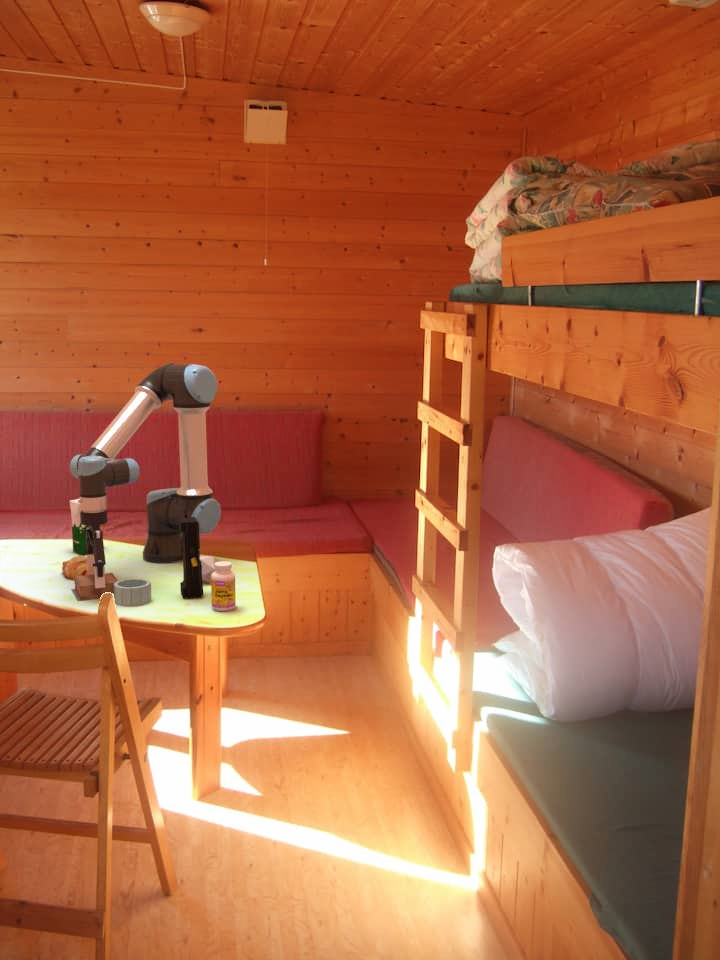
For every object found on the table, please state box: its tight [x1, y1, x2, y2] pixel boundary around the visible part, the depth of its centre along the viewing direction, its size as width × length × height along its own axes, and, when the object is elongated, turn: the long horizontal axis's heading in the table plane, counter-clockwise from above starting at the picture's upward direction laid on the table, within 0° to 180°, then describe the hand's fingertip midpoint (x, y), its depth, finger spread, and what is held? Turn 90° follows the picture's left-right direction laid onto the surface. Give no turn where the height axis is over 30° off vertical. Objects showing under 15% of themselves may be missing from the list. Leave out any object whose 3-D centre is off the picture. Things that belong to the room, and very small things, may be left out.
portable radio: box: [179, 509, 205, 599], centre depth 282 cm, size 8×6×25 cm
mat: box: [71, 588, 101, 602], centre depth 286 cm, size 13×13×1 cm
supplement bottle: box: [210, 561, 236, 612], centre depth 272 cm, size 7×7×13 cm
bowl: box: [113, 577, 152, 607], centre depth 278 cm, size 10×10×5 cm
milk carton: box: [69, 498, 88, 556], centre depth 332 cm, size 9×9×20 cm
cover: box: [74, 572, 119, 600], centre depth 286 cm, size 11×11×4 cm
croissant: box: [61, 554, 88, 581], centre depth 303 cm, size 21×10×8 cm, turn 45°
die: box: [200, 555, 217, 584], centre depth 298 cm, size 8×9×10 cm
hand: (96, 581), depth 285 cm, fingers open, 13 cm apart
